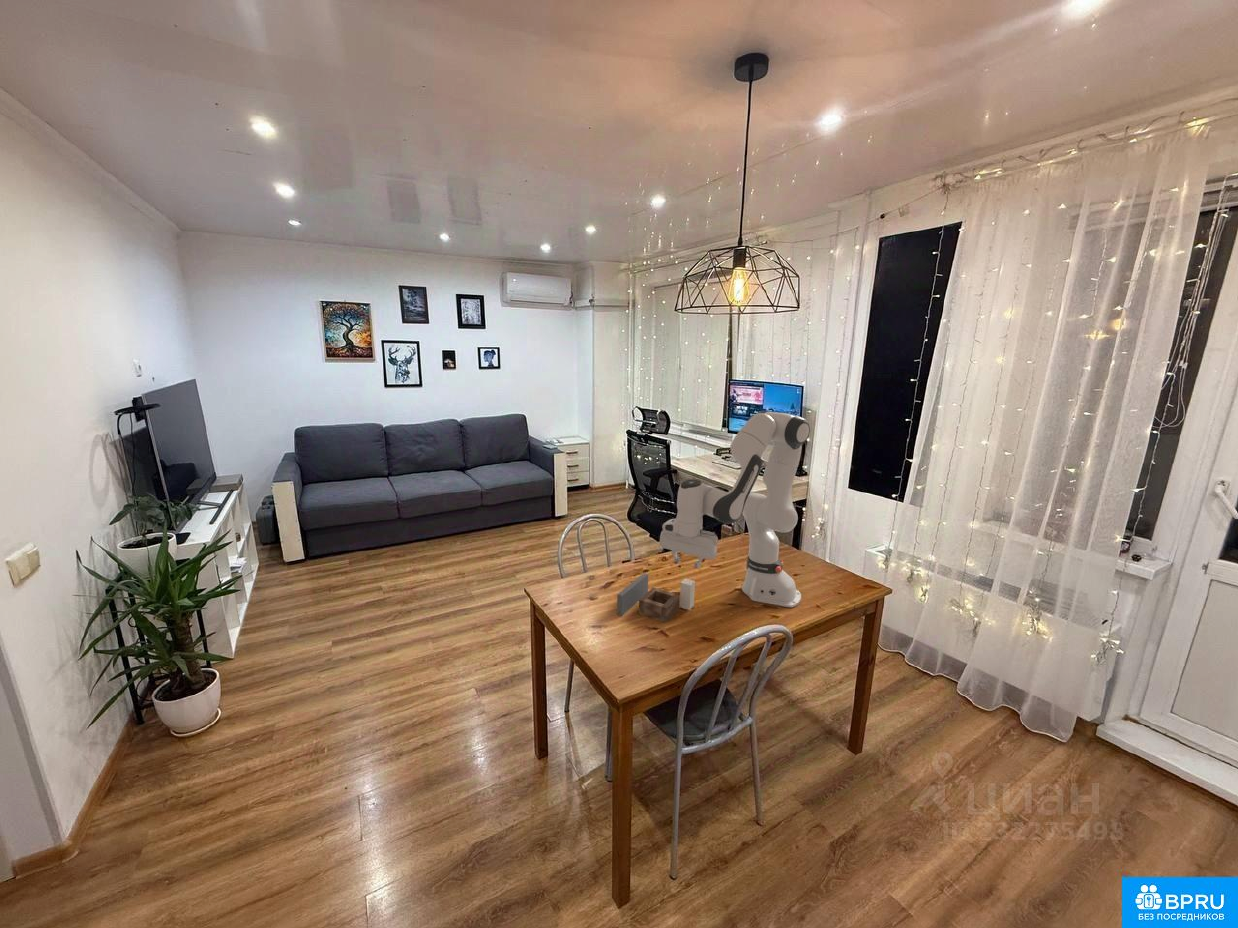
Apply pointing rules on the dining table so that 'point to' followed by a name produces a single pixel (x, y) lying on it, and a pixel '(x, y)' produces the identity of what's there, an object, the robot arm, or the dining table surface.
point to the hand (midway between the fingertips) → (687, 564)
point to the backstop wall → (632, 594)
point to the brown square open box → (659, 604)
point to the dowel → (687, 594)
